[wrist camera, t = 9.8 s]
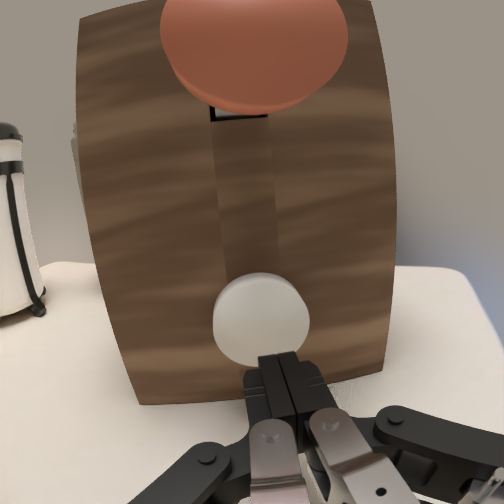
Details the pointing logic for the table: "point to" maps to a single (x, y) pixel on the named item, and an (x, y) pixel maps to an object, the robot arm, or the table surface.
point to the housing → (233, 206)
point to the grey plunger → (259, 318)
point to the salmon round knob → (253, 51)
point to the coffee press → (16, 233)
